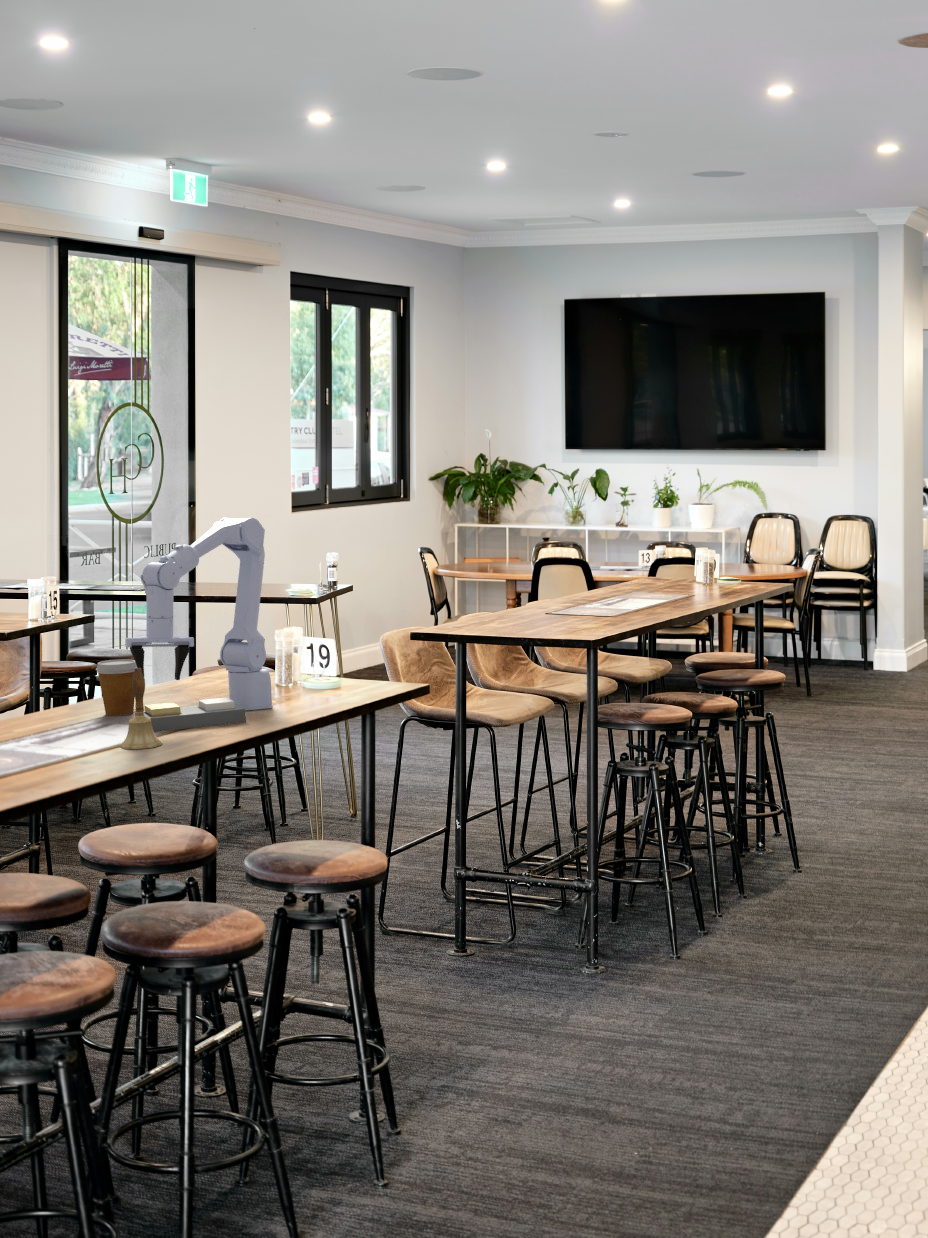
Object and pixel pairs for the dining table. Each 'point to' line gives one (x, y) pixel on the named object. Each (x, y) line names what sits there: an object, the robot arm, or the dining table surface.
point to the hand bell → (140, 719)
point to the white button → (216, 704)
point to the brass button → (162, 709)
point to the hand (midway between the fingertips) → (159, 680)
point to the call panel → (197, 718)
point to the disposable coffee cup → (117, 686)
